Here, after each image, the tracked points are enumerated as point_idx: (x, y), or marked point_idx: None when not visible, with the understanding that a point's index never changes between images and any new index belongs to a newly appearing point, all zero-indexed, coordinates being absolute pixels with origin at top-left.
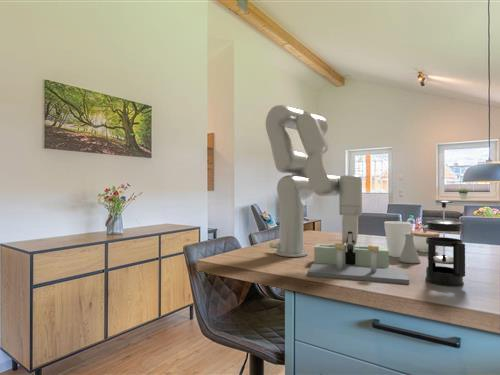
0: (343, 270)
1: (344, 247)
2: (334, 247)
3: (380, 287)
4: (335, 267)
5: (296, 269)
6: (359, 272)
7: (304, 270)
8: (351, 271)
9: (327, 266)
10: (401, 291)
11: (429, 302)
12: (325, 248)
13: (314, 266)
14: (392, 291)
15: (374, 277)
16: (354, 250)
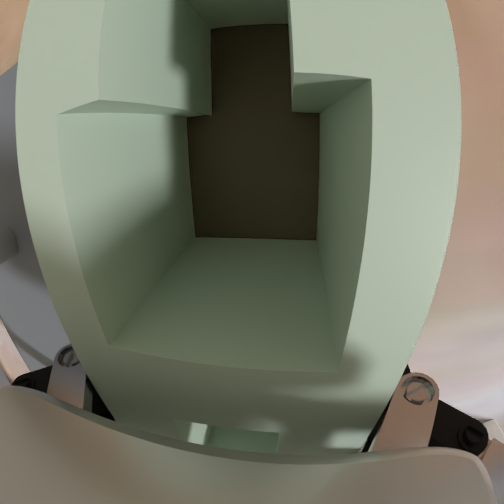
0: (5, 261)
1: (153, 381)
2: (66, 230)
3: (5, 341)
4: (19, 216)
5: (24, 11)
6: (23, 323)
7: (12, 51)
8: (14, 295)
9: (16, 163)
10: (17, 371)
11: (10, 382)
12: (26, 84)
13: (2, 92)
14: (5, 354)
15: (19, 352)
16: (111, 417)
